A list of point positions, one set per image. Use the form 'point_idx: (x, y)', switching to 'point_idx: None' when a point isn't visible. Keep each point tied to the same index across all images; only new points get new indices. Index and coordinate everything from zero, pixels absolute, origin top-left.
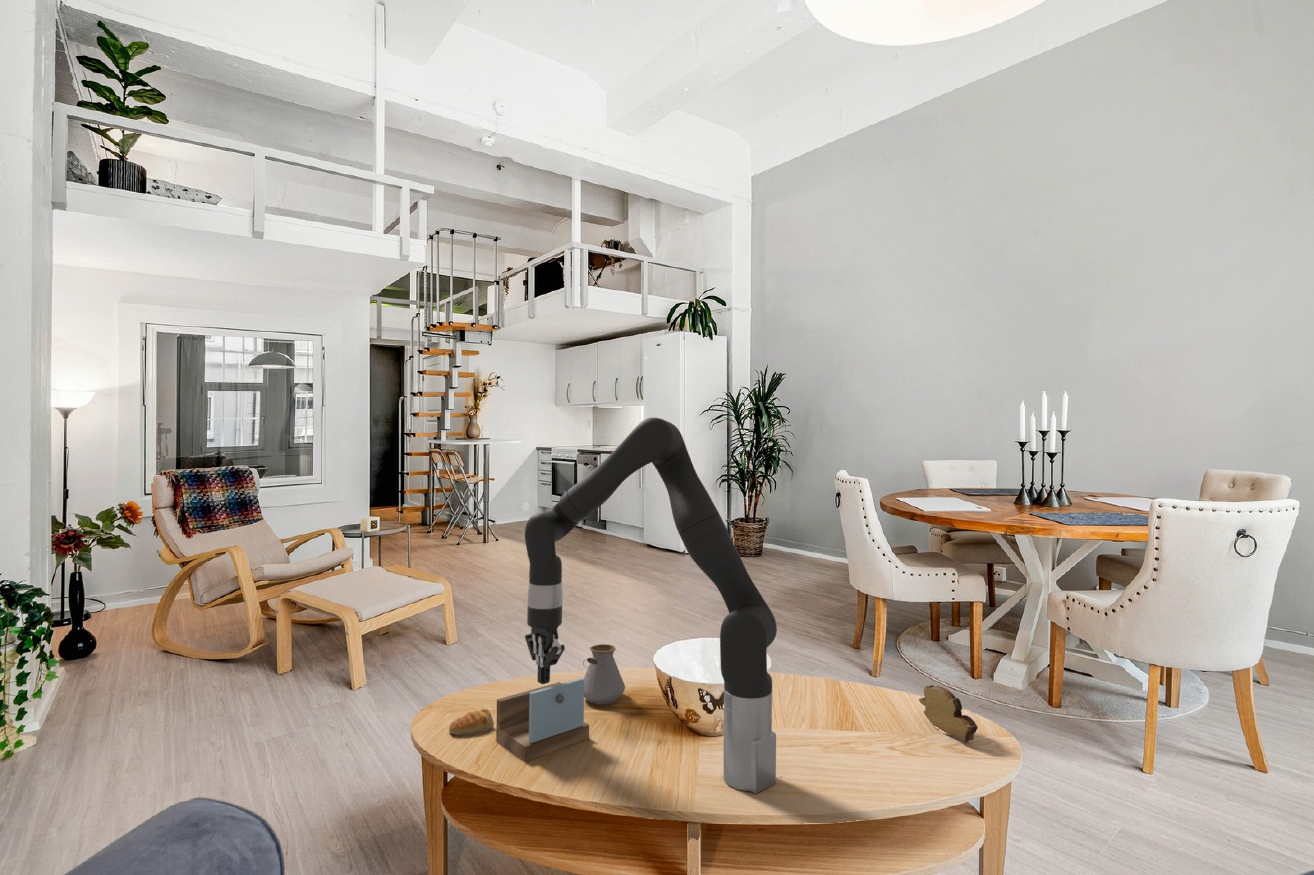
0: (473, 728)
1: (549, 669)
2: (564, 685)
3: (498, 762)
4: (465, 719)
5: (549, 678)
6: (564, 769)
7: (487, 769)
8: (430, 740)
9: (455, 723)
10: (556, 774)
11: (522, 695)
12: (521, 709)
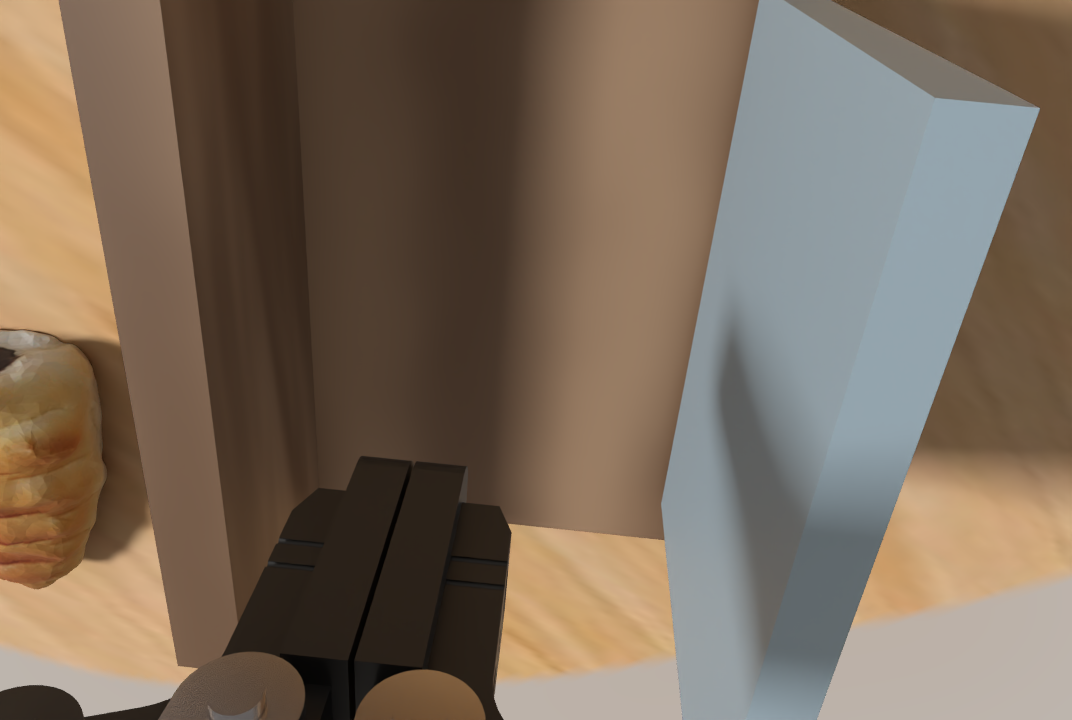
0: (90, 496)
1: (491, 667)
2: (884, 516)
3: (561, 563)
4: (4, 546)
5: (507, 542)
6: (972, 381)
7: (585, 630)
8: (62, 640)
9: (6, 579)
10: (968, 447)
11: (220, 478)
12: (273, 404)
